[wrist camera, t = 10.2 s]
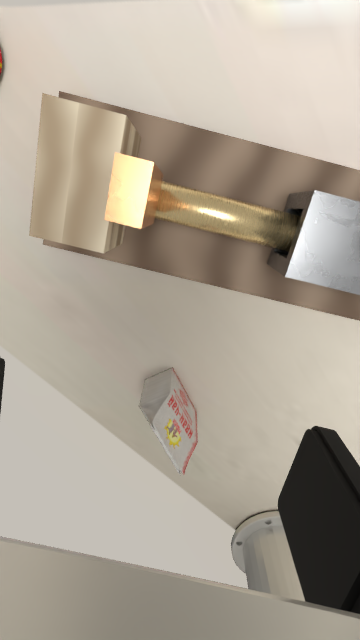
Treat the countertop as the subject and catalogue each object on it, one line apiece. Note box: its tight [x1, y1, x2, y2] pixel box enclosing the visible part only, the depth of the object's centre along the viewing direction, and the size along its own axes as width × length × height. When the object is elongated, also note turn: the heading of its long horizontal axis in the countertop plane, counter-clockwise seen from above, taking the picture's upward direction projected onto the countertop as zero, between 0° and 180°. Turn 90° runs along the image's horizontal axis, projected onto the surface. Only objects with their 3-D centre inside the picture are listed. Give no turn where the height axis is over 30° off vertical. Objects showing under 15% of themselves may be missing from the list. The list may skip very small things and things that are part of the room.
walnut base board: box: [43, 91, 360, 321], centre depth 34 cm, size 38×14×2 cm, turn 77°
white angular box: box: [139, 368, 198, 475], centre depth 37 cm, size 4×7×10 cm, turn 26°
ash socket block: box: [29, 93, 141, 253], centre depth 29 cm, size 6×10×8 cm, turn 167°
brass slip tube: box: [104, 152, 301, 251], centre depth 26 cm, size 22×4×11 cm, turn 77°
